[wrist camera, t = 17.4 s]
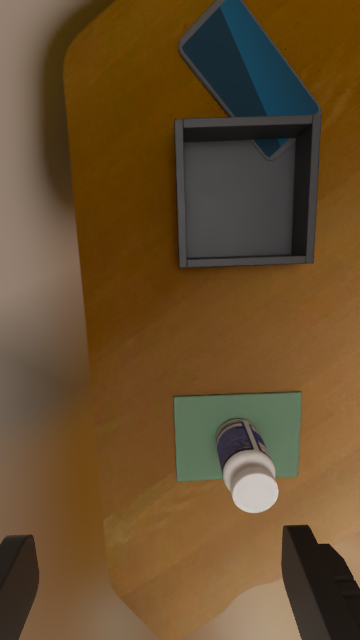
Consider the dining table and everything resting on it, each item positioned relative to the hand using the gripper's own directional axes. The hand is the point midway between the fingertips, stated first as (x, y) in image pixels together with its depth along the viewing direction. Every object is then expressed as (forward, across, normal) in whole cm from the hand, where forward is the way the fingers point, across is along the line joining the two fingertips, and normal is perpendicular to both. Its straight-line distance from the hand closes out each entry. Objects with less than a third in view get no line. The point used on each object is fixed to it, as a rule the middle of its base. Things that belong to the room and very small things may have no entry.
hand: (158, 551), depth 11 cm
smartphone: (+31, -9, -26) cm, 41 cm away
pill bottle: (+30, -8, +15) cm, 34 cm away
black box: (+30, -8, -14) cm, 34 cm away
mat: (+30, -8, +15) cm, 35 cm away
